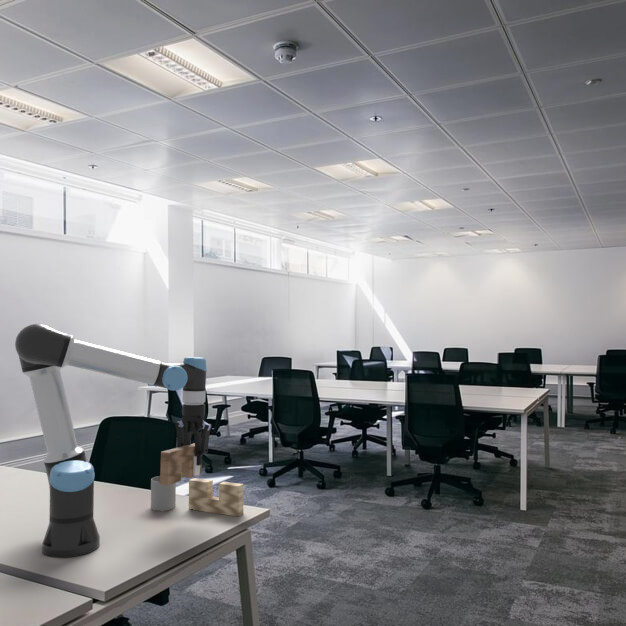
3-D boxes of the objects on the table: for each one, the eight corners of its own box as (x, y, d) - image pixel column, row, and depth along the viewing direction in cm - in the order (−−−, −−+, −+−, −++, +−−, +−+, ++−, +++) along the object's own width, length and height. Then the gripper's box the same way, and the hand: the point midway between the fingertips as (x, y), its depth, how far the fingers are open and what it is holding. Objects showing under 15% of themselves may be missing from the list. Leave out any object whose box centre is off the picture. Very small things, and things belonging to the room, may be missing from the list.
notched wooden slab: (243, 513, 199) (243, 484, 199) (238, 516, 196) (238, 486, 197) (193, 506, 207) (194, 478, 207) (188, 509, 204) (188, 480, 205)
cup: (178, 504, 210) (179, 475, 211) (171, 511, 202) (171, 481, 202) (155, 503, 211) (156, 475, 211) (147, 510, 203) (147, 481, 203)
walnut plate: (193, 472, 199) (194, 443, 200) (201, 473, 198) (202, 443, 199) (159, 484, 183) (161, 451, 183) (167, 485, 182) (168, 452, 182)
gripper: (220, 403, 197) (218, 474, 196) (180, 400, 204) (178, 469, 203) (207, 406, 190) (205, 479, 189) (167, 402, 197) (164, 474, 196)
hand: (191, 474), depth 196 cm, fingers closed on walnut plate, 3 cm apart
